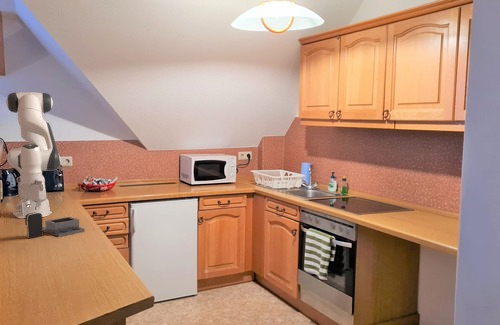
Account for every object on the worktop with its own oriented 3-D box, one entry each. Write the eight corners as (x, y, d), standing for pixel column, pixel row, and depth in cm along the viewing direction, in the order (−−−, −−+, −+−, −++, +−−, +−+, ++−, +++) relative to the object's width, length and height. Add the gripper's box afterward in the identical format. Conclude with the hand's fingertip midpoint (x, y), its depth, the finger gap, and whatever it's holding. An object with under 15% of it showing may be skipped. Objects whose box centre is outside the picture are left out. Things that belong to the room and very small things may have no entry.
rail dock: (40, 230, 220) (40, 219, 220) (65, 225, 230) (65, 215, 230) (59, 236, 209) (58, 225, 208) (84, 231, 219) (84, 220, 218)
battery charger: (39, 234, 213) (38, 211, 212) (43, 235, 211) (42, 212, 209) (24, 237, 207) (23, 213, 206) (29, 239, 205) (28, 214, 204)
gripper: (49, 180, 202) (50, 210, 203) (28, 177, 215) (29, 205, 216) (35, 181, 197) (36, 212, 198) (15, 178, 210) (16, 207, 211)
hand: (32, 208), depth 207 cm, fingers open, 8 cm apart
